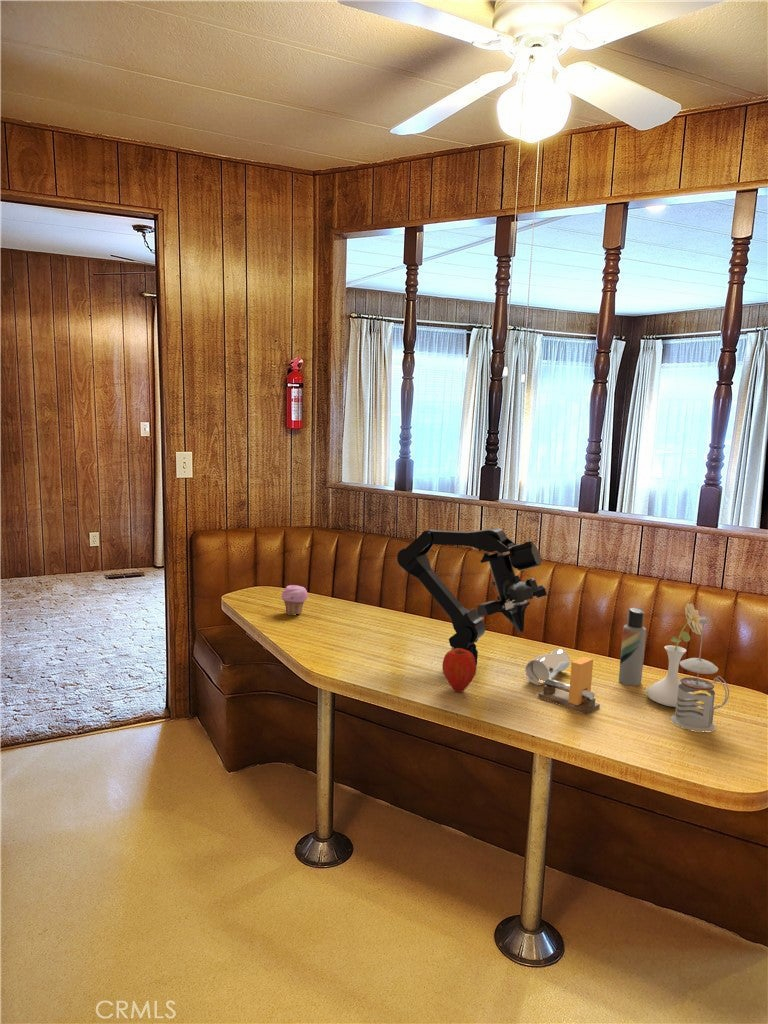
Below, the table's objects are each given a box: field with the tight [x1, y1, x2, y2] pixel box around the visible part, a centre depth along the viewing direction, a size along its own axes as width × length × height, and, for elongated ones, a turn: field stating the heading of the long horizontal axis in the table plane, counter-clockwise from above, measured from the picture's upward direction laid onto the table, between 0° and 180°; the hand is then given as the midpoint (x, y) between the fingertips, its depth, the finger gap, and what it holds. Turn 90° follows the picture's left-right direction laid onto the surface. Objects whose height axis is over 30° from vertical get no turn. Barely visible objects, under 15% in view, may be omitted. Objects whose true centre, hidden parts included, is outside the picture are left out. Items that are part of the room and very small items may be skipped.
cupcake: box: [281, 584, 308, 616], centre depth 233 cm, size 9×9×10 cm
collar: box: [568, 656, 594, 705], centre depth 164 cm, size 2×6×10 cm, turn 135°
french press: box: [669, 617, 730, 733], centre depth 156 cm, size 10×12×25 cm
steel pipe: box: [545, 678, 595, 700], centre depth 167 cm, size 12×2×2 cm, turn 45°
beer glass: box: [525, 648, 571, 686], centre depth 183 cm, size 7×7×15 cm
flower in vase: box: [645, 602, 704, 708], centre depth 169 cm, size 13×11×25 cm
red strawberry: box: [441, 648, 477, 693], centre depth 171 cm, size 9×8×11 cm
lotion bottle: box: [618, 607, 647, 687], centre depth 182 cm, size 6×6×20 cm
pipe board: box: [537, 684, 601, 715], centre depth 168 cm, size 13×8×5 cm, turn 45°
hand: (521, 631), depth 181 cm, fingers closed
